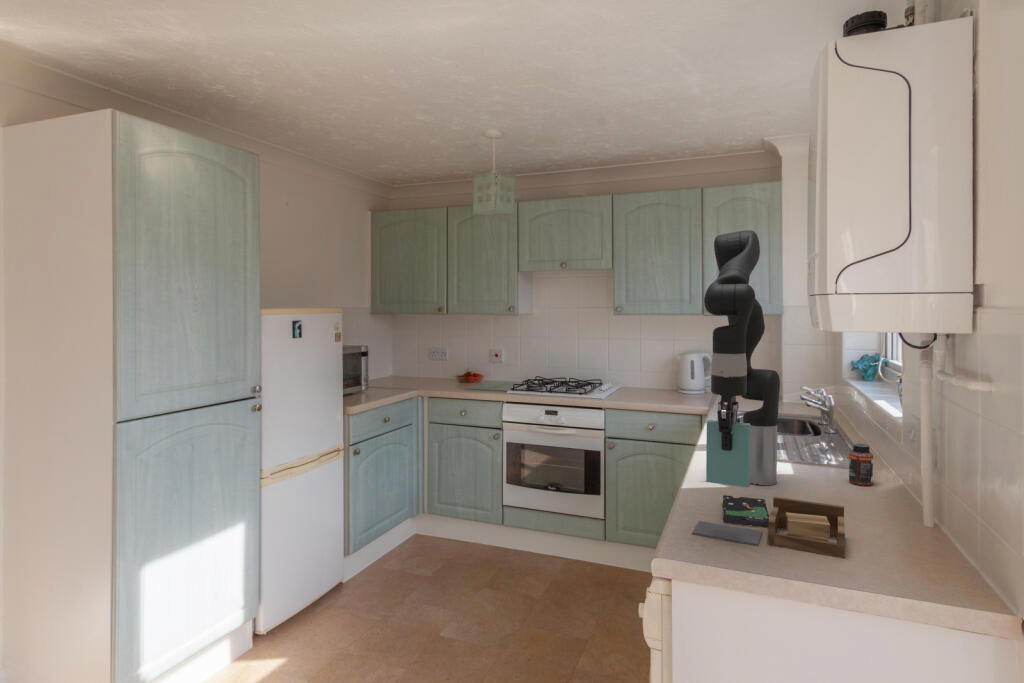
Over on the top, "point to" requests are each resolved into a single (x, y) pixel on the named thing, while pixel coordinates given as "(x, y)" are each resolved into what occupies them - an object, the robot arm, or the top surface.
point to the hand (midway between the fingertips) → (727, 448)
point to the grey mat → (728, 533)
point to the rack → (806, 544)
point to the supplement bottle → (861, 465)
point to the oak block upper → (807, 525)
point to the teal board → (728, 456)
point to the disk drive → (745, 511)
